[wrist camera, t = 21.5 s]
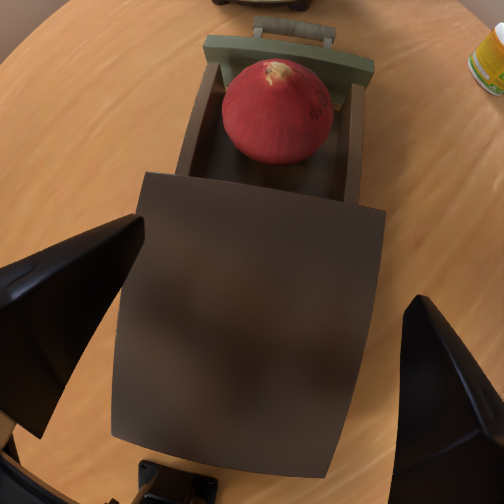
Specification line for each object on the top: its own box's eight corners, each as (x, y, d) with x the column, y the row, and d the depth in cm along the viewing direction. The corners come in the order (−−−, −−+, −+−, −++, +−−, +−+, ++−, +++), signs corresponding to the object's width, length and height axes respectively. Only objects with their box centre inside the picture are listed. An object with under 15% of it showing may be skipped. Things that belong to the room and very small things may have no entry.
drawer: (228, 37, 21) (222, -2, 16) (356, 57, 20) (371, 21, 15) (173, 246, 19) (147, 237, 15) (338, 275, 19) (361, 274, 14)
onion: (290, 92, 19) (301, 9, 11) (336, 158, 18) (378, 91, 10) (214, 127, 19) (189, 49, 11) (257, 199, 18) (254, 145, 10)
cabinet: (178, 200, 21) (145, 171, 14) (350, 230, 20) (386, 211, 14) (148, 397, 20) (110, 435, 13) (309, 428, 19) (324, 478, 13)
